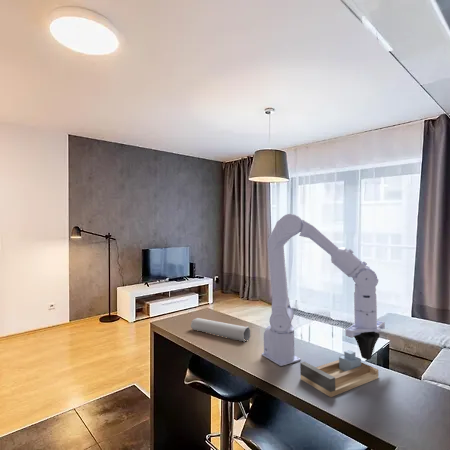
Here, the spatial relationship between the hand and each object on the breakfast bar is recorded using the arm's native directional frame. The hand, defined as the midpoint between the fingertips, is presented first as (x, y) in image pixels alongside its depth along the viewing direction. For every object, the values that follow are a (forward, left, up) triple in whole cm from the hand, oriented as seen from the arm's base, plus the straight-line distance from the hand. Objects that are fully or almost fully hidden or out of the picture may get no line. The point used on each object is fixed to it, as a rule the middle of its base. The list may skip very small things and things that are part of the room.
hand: (366, 358), depth 85 cm
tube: (-46, -23, -3) cm, 51 cm away
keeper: (0, -7, -2) cm, 7 cm away
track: (0, -11, -3) cm, 11 cm away
